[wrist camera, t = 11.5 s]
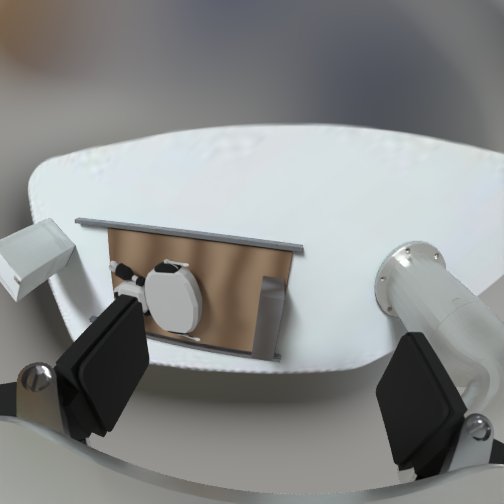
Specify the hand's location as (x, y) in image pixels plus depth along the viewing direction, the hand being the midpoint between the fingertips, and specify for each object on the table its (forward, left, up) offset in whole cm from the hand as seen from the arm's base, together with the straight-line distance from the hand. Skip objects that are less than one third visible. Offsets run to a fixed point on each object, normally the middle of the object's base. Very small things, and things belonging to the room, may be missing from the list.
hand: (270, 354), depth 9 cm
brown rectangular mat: (+11, +15, -28) cm, 34 cm away
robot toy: (+16, +15, -28) cm, 36 cm away
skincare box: (+38, +10, -28) cm, 49 cm away
